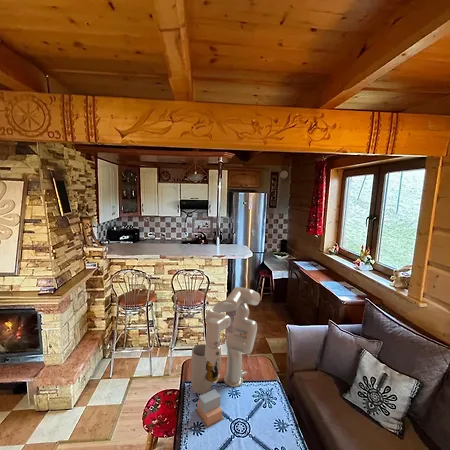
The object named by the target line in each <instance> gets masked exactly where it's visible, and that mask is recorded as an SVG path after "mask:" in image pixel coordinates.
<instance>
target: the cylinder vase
mask: <svg viewBox="0 0 450 450" xmlns="http://www.w3.org/2000/svg"><path fill="white" fill-rule="evenodd" d="M205 347H206V344H197V345H195V346H193V347H192V349H191V380H190V381H191V385H190V388H191V390H192V391H193V392H194V393H195V394H201V395H202V394H205V393H207V392H209V391H211V389H212V383H211V382H208V381H205V380H201V379H202V378H203V376H204V374H205V372H206V358H205V354H204V353H205Z"/></svg>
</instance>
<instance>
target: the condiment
mask: <svg viewBox="0 0 450 450" xmlns="http://www.w3.org/2000/svg"><path fill="white" fill-rule="evenodd" d="M215 368H217V367H216V366H215ZM212 371H213V366H212V365H211V364H210V362H209V361H208V362H207V371H206V372H205V374H204V376H203V378H202V379H201V380H205V381H208V382H211V384H217V383H218V381H219V379H220V376H221V374H219V373H218V376H217V377H215V378H212Z"/></svg>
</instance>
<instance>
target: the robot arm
mask: <svg viewBox="0 0 450 450" xmlns="http://www.w3.org/2000/svg"><path fill="white" fill-rule="evenodd" d="M260 302H261V295H260V293H259V292H257V291H255V290H254V289H251V288H246V287H242V286H237V287H236V286H235V287H234V288H233V289H232V291H231V292H230V293H229V295H228V296H227V297H226V299H224V300H221V301H218V302H216V303H215V304H213V305H212V306H211V307H210V309H209V310H208V311H207V312H206V315H205V316H204V317H205V321H204V322H205V323H206V327H205V329H206V331H205V332H206V333H205V345H206V347H205V353H204V354H205V358H206V371H207V362H208V361H209V362H210V364H211V365H212V366H213V371H212V378H215V377H217V376H218V374H219V370H221V367H222V366H221V364H222V350H221V346H220V345H221V331H224V330H227V329H228V328H229V326H231V325H232V329H233V330H234V331H235V332H237V333H235V332H233V333H228V335H227V336H226V339H225V344H226V373H225V375H224V376H223V382H224V383H225V385H227V386H229V387H233V388H236V387H240V386H241V385H242V384H243V382H244V376H245V375H247V374H248V372H247V371H246V370H245V371H244V370H243V369H242V361H243V355H242V353H243V354H245V355H249V354H251V353H252V352H253V349H254V346H255V341H256V336H257V331H258V323H257V321H255V320H252V319H249V316H250V309H249V306H248V305H251V306H258V305H259V303H260ZM235 311H236V312H235ZM230 312H235V315H234V319H233V323H232V319H231V316H230V315H228V314H224V313H230ZM231 323H232V324H231ZM238 333H239V334H238ZM241 334H244V335H246V336H244V335H241ZM215 366H216V367H217V368H215Z"/></svg>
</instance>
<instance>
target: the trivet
mask: <svg viewBox="0 0 450 450" xmlns="http://www.w3.org/2000/svg"><path fill="white" fill-rule="evenodd" d="M194 411H195V412H196V413H197V416H198V417H199V419H200V420H201V422H202V424H203V425H204V427H205V429H208V428H211V427H212V426H215V425H216V424H218V423H220V422H222V421H224V420H225V417H224V416H223V415H222V419H220V420H218V421H217V422H215V423H213V424H211V425H209V426H207V425H206V423H205V421H204V420H203V418H202V417H201V415H200V414H199V412H198V410H197V408H195V409H194Z"/></svg>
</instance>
